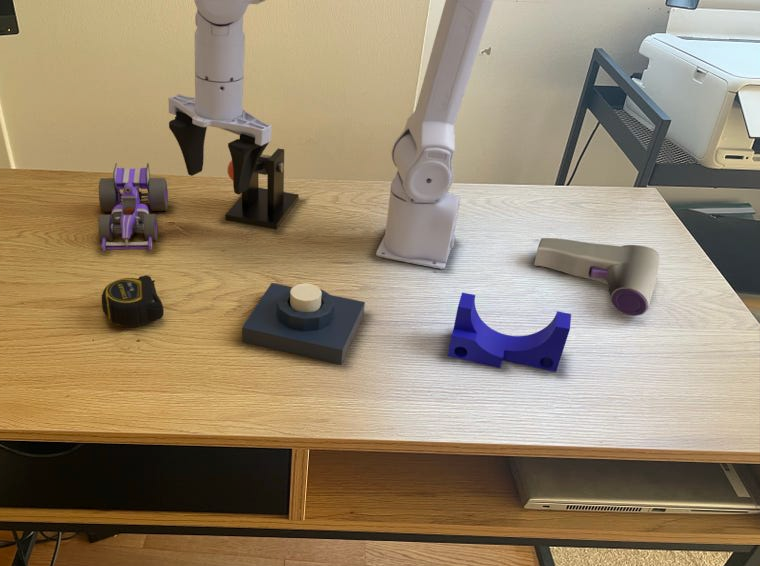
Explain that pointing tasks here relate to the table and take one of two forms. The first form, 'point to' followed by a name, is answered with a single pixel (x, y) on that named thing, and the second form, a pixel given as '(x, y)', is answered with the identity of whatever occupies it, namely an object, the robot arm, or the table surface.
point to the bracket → (265, 198)
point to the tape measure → (132, 301)
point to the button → (305, 297)
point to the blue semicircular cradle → (506, 340)
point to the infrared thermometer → (607, 269)
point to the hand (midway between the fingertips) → (217, 181)
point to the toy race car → (130, 207)
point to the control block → (304, 325)
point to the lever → (259, 168)
